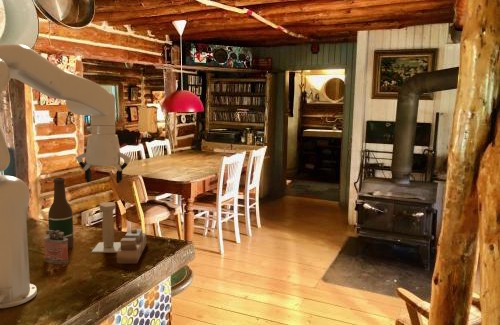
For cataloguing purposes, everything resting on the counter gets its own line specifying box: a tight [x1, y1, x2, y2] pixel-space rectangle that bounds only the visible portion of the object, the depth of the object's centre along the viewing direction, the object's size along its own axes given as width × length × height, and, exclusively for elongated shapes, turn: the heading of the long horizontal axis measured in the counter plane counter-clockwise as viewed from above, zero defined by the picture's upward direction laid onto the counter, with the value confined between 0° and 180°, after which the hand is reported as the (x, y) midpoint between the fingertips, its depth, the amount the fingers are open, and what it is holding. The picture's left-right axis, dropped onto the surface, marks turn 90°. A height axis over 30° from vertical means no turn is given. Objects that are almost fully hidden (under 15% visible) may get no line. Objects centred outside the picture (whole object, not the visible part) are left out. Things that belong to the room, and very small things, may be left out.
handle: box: [99, 201, 117, 248], centre depth 142 cm, size 5×6×15 cm
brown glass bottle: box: [47, 177, 74, 250], centre depth 142 cm, size 8×8×24 cm
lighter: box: [43, 229, 70, 265], centre depth 130 cm, size 8×3×10 cm, turn 74°
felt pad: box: [91, 241, 121, 254], centre depth 144 cm, size 9×9×1 cm
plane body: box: [116, 228, 147, 264], centre depth 139 cm, size 18×6×7 cm, turn 5°
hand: (103, 182), depth 139 cm, fingers open, 9 cm apart
